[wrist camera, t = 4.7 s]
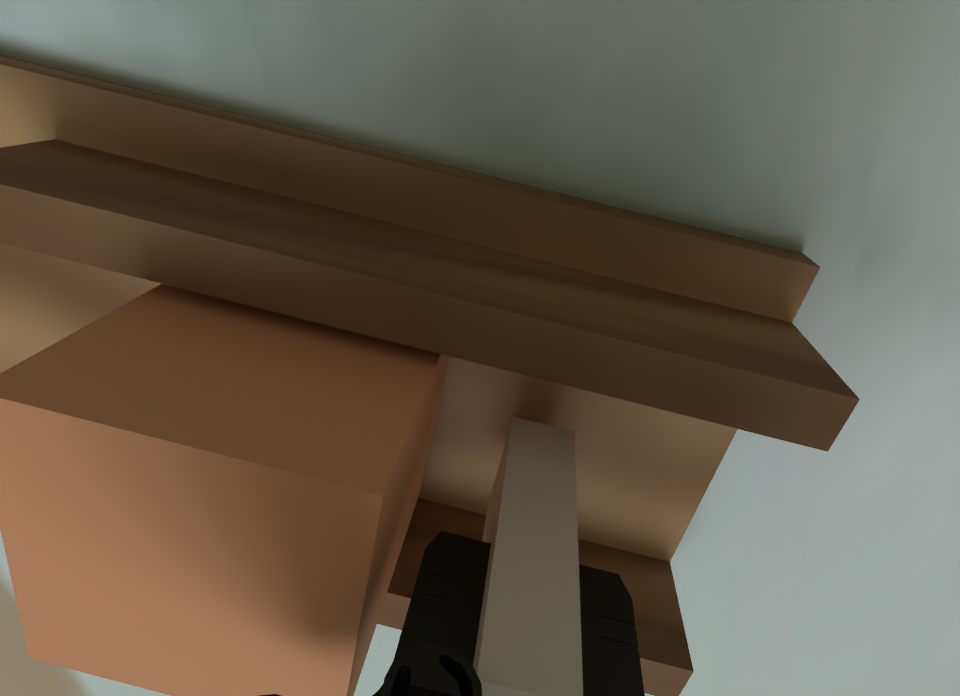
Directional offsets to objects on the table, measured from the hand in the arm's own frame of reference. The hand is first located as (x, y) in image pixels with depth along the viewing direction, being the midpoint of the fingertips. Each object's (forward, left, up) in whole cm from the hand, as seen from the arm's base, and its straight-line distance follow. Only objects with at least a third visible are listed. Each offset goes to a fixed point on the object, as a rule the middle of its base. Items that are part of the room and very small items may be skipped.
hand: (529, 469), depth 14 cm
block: (0, -6, -2) cm, 6 cm away
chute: (0, -8, -3) cm, 8 cm away
